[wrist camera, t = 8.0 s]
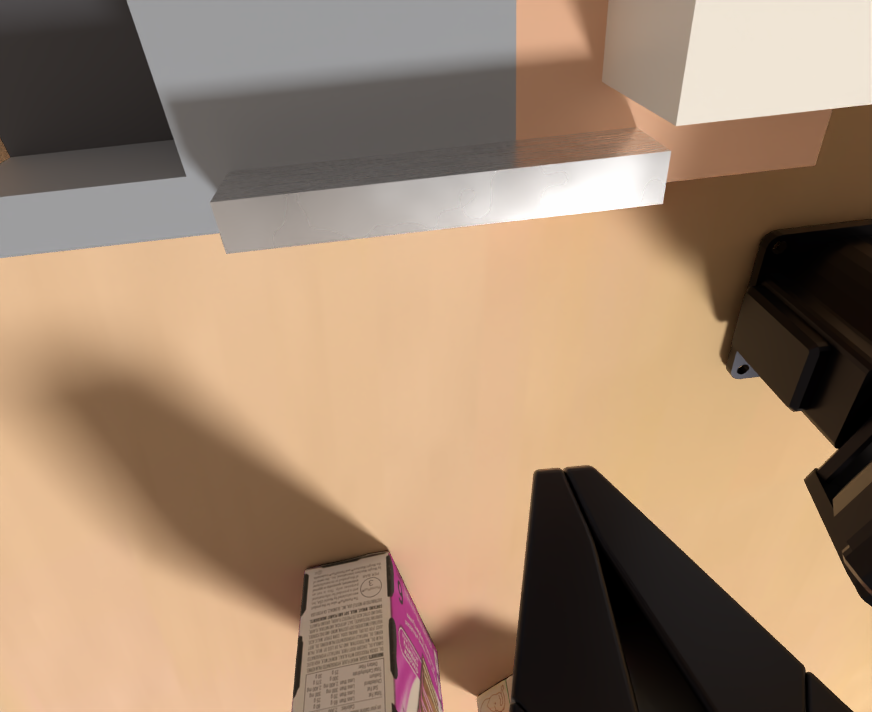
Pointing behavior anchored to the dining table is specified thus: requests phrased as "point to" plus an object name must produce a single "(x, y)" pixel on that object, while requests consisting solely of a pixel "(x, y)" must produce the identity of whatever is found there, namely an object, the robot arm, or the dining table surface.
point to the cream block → (739, 56)
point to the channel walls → (439, 189)
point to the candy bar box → (363, 642)
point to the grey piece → (301, 101)
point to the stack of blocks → (496, 697)
